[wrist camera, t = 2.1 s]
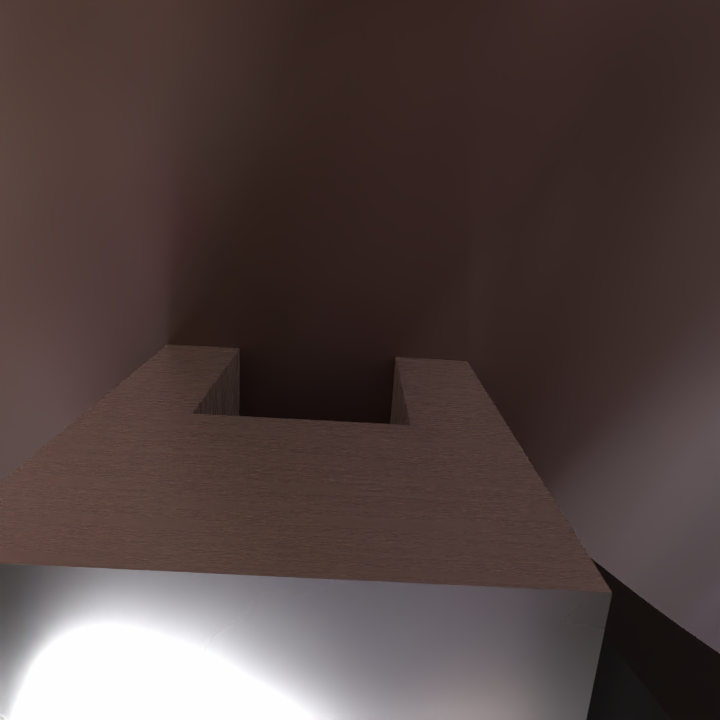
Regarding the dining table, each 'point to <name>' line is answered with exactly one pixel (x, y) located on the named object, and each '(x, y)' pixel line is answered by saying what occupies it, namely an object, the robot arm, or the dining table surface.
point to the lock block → (291, 561)
